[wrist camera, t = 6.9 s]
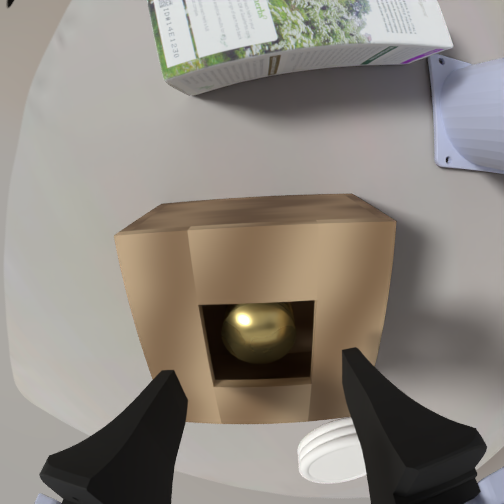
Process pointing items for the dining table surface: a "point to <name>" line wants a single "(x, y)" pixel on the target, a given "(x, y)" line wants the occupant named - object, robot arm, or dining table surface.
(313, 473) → the coaster
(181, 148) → the dining table surface
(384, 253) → the box
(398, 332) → the dining table surface
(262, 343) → the cylinder
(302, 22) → the syrup box
